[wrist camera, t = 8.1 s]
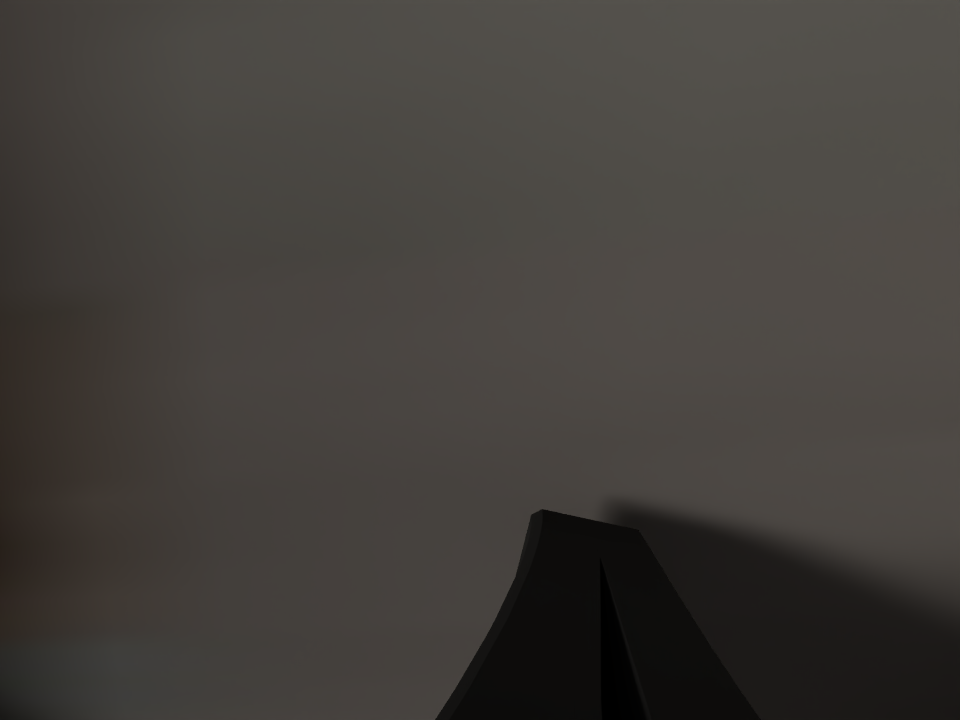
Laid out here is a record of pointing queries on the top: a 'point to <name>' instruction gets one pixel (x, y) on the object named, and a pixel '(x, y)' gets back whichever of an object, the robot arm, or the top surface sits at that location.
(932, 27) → the top surface
